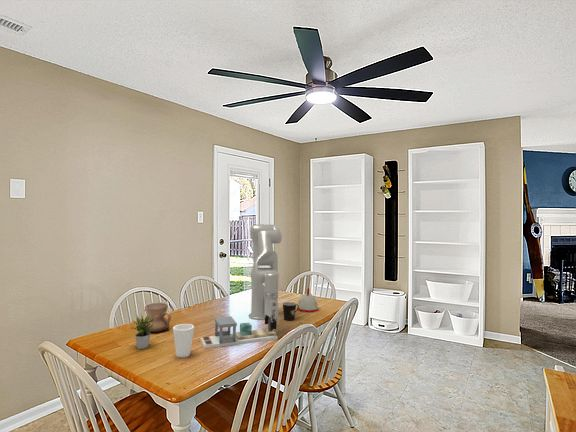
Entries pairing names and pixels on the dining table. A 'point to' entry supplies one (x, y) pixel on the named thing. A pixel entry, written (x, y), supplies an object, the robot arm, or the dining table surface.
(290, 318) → the coffee mug
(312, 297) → the grey service bell
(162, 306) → the ceramic jug
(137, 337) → the house plant
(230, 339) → the tunnel board
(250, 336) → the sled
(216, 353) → the dining table surface
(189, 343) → the foam cup
